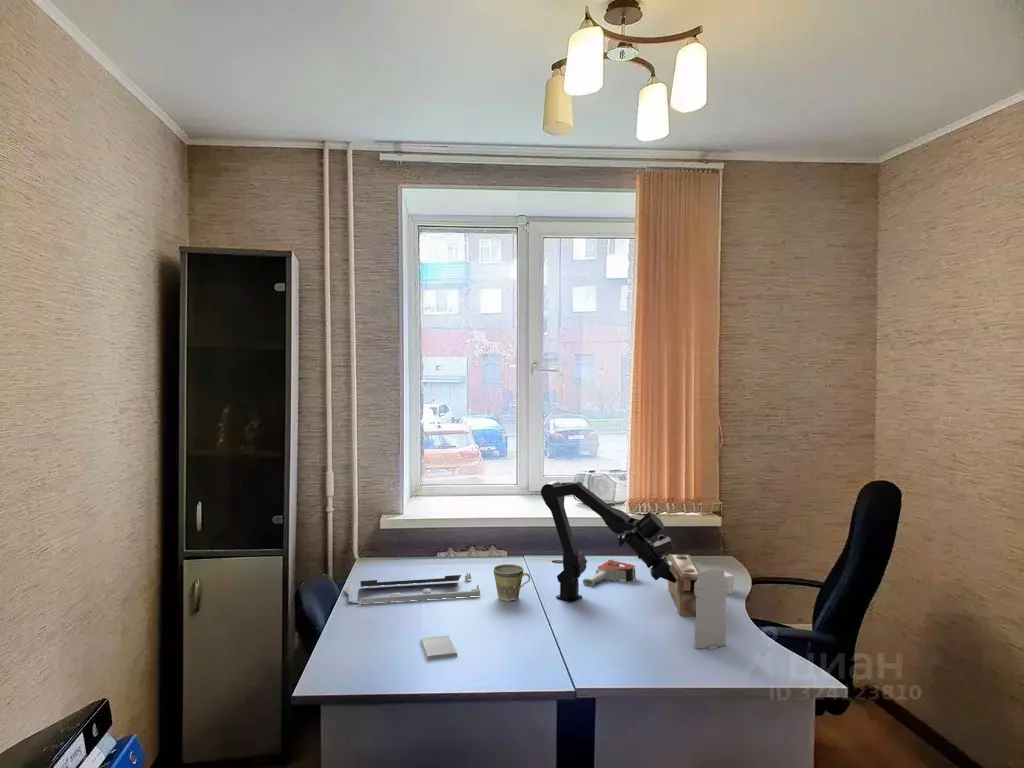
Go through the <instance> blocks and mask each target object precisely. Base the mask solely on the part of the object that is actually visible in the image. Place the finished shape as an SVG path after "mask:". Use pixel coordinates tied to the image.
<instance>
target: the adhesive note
mask: <svg viewBox="0 0 1024 768" xmlns="http://www.w3.org/2000/svg"><path fill="white" fill-rule="evenodd" d="M724 575H725V579H727V580H728V592H727V594H733V593H734V587H735V586H734V583H735V582H734V579H735V578H734V577H735V576H734V575H733V574H732V573H729V572H726V571H724Z"/></svg>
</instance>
